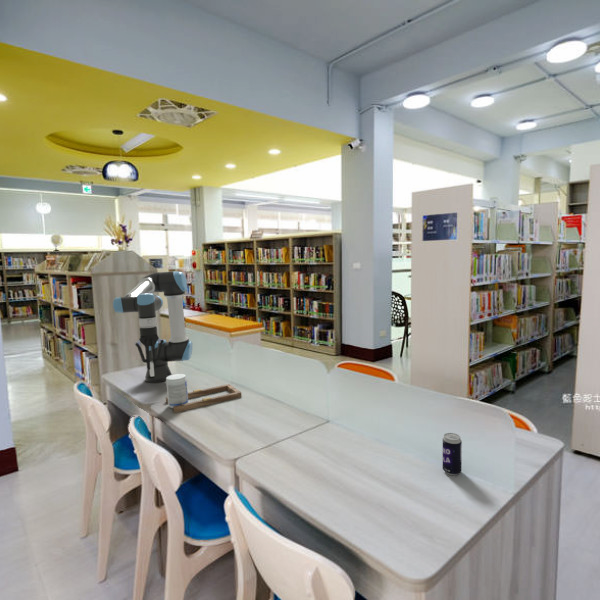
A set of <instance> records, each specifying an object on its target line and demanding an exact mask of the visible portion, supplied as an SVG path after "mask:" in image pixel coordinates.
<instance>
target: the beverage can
mask: <svg viewBox="0 0 600 600" xmlns="http://www.w3.org/2000/svg"><path fill="white" fill-rule="evenodd" d="M462 443H463V442H462V439H461V436H460V435H459V434H457V433H455V432H454V433H453V432H447V433H444V434H443V437H442V470H443V471H444V472H445V473H446V474H447V475H450V476H458V475H459V474H460V473H461V472H462V461H463V460H462V455H463V454H462V453H463V451H462V447H463V444H462Z"/></svg>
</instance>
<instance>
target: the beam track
mask: <svg viewBox="0 0 600 600" xmlns="http://www.w3.org/2000/svg"><path fill="white" fill-rule="evenodd" d="M224 391H228V392H230V393H227V394H222V395H218V396H212V397H210V396H209V397H204V398H202V399H199V400H196V401H192V402H191V401H190V402H188V403H187V404H183V403H182V404H180V405H178V406H173V408H172V409H173V410H172V411H173V413H180V412H183V411H188V410H193V409H195V408H201V407H205V406H209V405H213V404H217V403H222V402H225V401H231V400H234V399H239V398H241V397H242V396H243V395H242V392H241V391H240V390H238V389H237V388H236V387H234V386H233V385H231V384H230V383H227V384H222V385H219V386H218V385H217V386H212V387H208V388H204V389H200V388H199V389H193V390H192V391H190V392H188V400H189V399H191V398H198V397H200V396H206V395H210V394H211V395H212V394H214V393H218V392H224ZM165 403H166V404H168V397H167V396H166V397H165Z"/></svg>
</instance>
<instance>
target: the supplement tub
mask: <svg viewBox="0 0 600 600" xmlns="http://www.w3.org/2000/svg"><path fill="white" fill-rule="evenodd" d="M187 382H188V381H187V375H186V374H184V373H176V374H175V373H174V374H172V375H170V376H168V377H166V381H165V385H166V395H167V396H166V397H168V403H167V405H168V408H170V409H173V406H178V405H180V404H182V403H183V404H187V403H189V399H188V393H189V392H188V384H187Z"/></svg>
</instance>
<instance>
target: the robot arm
mask: <svg viewBox="0 0 600 600" xmlns="http://www.w3.org/2000/svg"><path fill="white" fill-rule="evenodd" d="M186 278H187V277H186V276H185V274H184V272H182V271H162V272H161V271H157V272H152V273H150V274H147V275H145V276H143V277H142V278H140V280H139V281H138V282H137V285H136V286H135V287H133V288H132V289H131V290H130V291H129V292H128V293H126V294H125V295H123V297H121V296H119V297H115V298H114V299H113V302H112V308H113V311H114V312H115V313H117V314H118V313H119V314H126V313H138V326H139V340H138V341H137V342H134V345H135V347H136V348H137V350H138V353H139V356H140V358H141V361H142V362H143V363H146V374H145V380H144V381H145V382H147V383H160V382H161V383H162V382H166V377H168V376H170V375H173V374H172V371H171V369H170V367H169V362H184V361H190V359H191V357H192V355H193V354H192V352H193V341H191V340H190V338H189V337H188V336H187V335H186V325H185V324H186V323H185V313H184V312H185V311H184V302H183V296H184V295H185V292H186V291H187V290H188V283H187V279H186ZM154 293H163V296H164V297H165V299H166V302H167V309H168V310H167V311H168V312H167V313H168V320H169V321H168V322H169V329H170V330H169V331H170V338H169V339H168V342H167V340H166V339H162V338H160V337H159V335H158V328H157V326H156V325H157V315H156V314H157V313H156V312H157V311H159V310H160V309H161V308H162V307H163V305H164V300H163V298H162V297H161V296H159V295H155V294H154ZM142 345H143V346H144V349H145V351H144V352H145V354H144V352H143V350H142Z"/></svg>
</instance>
